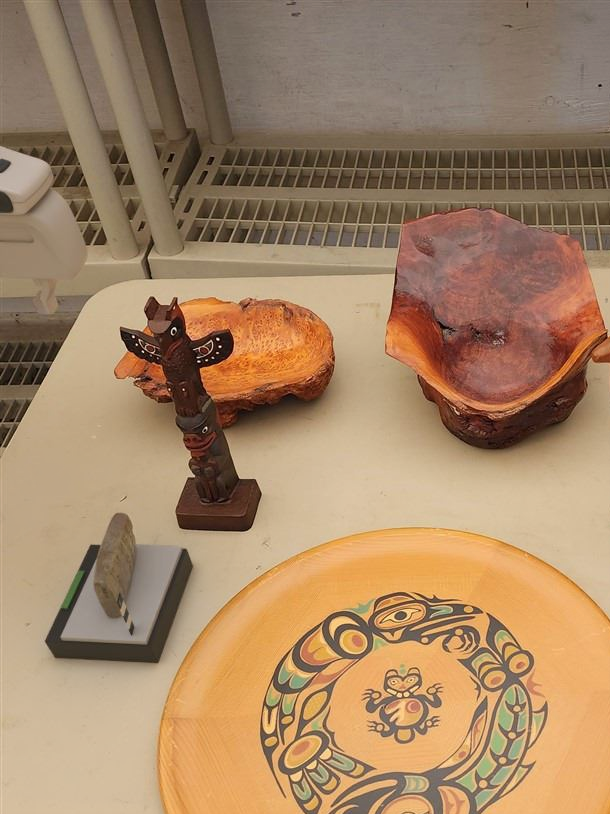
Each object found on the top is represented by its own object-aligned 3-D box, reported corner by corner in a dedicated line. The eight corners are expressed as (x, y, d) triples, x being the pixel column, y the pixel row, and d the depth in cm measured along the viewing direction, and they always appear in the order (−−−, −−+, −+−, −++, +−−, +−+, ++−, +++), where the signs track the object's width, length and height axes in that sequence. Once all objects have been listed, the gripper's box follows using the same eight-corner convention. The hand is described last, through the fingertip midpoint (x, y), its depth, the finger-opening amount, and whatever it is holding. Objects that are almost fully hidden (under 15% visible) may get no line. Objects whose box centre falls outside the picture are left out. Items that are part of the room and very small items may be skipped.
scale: (54, 657, 90) (41, 638, 87) (98, 561, 98) (88, 540, 96) (158, 663, 89) (148, 643, 86) (193, 565, 98) (185, 544, 95)
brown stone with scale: (117, 601, 83) (141, 510, 91) (77, 602, 83) (105, 511, 91) (132, 636, 87) (154, 546, 95) (93, 637, 87) (119, 547, 95)
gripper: (-192, 189, 75) (-115, 323, 85) (38, 197, 74) (89, 331, 84) (-152, 157, 79) (-83, 288, 89) (66, 163, 78) (112, 295, 88)
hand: (2, 309), depth 86 cm, fingers open, 8 cm apart
